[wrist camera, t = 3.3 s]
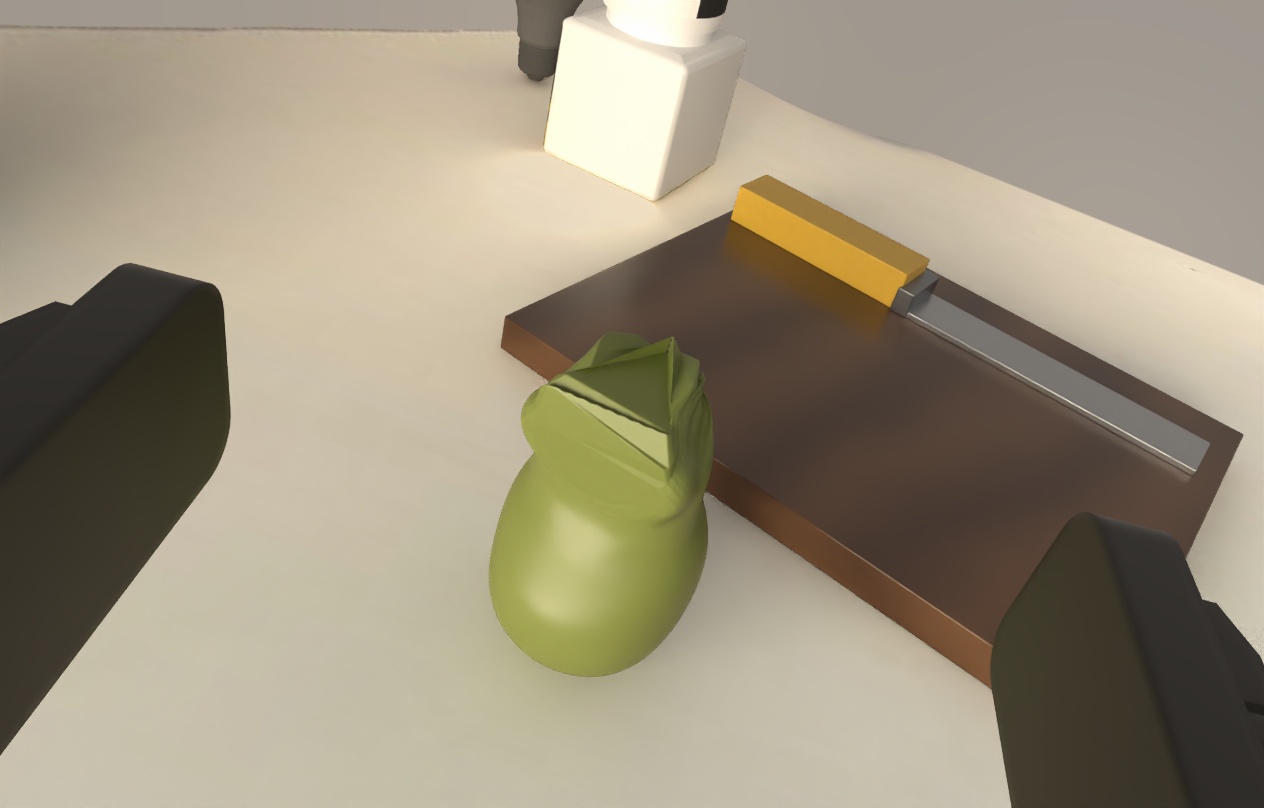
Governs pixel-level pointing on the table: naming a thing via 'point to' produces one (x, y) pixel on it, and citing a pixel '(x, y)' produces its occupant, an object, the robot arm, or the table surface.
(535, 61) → the light bulb
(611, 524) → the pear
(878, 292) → the knife
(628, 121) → the medicine bottle
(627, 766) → the table surface
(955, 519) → the cutting board
